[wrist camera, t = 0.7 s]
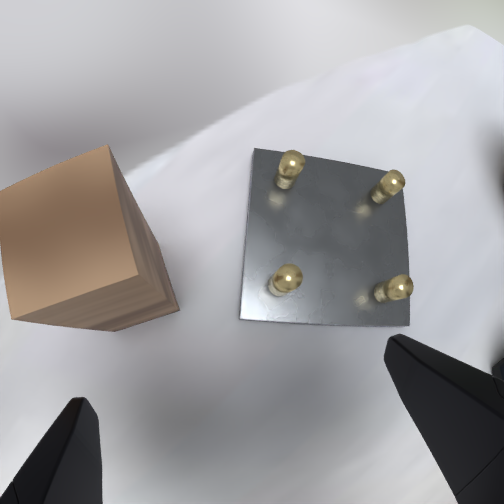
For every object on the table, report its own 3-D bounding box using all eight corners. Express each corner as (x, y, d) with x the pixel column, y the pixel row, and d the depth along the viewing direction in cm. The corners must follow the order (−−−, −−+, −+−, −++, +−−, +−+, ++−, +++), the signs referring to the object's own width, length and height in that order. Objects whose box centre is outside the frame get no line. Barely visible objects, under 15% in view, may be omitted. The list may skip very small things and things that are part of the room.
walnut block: (179, 310, 22) (138, 274, 9) (114, 331, 21) (11, 319, 8) (158, 244, 23) (107, 144, 10) (96, 265, 22) (-3, 192, 9)
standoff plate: (402, 326, 23) (432, 323, 20) (239, 319, 22) (244, 315, 18) (395, 179, 27) (417, 158, 23) (252, 154, 26) (259, 125, 22)
